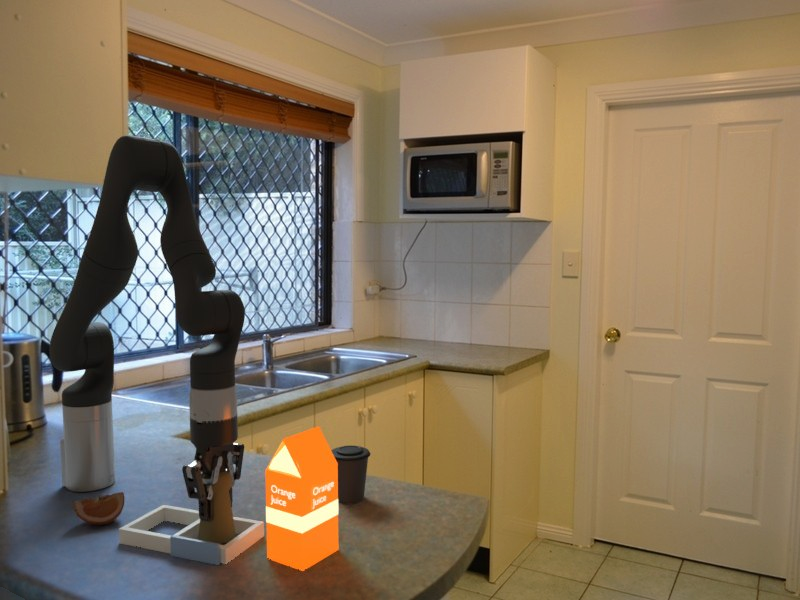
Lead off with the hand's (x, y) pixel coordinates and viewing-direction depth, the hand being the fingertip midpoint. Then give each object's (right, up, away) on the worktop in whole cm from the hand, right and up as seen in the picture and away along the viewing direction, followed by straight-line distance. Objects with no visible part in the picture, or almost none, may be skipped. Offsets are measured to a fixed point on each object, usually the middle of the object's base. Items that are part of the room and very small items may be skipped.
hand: (216, 513), depth 114 cm
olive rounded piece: (0, -4, 0) cm, 4 cm away
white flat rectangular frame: (-5, -5, +2) cm, 7 cm away
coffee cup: (+21, -3, +20) cm, 29 cm away
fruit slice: (-23, -5, +9) cm, 26 cm away
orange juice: (+15, -6, -3) cm, 16 cm away
